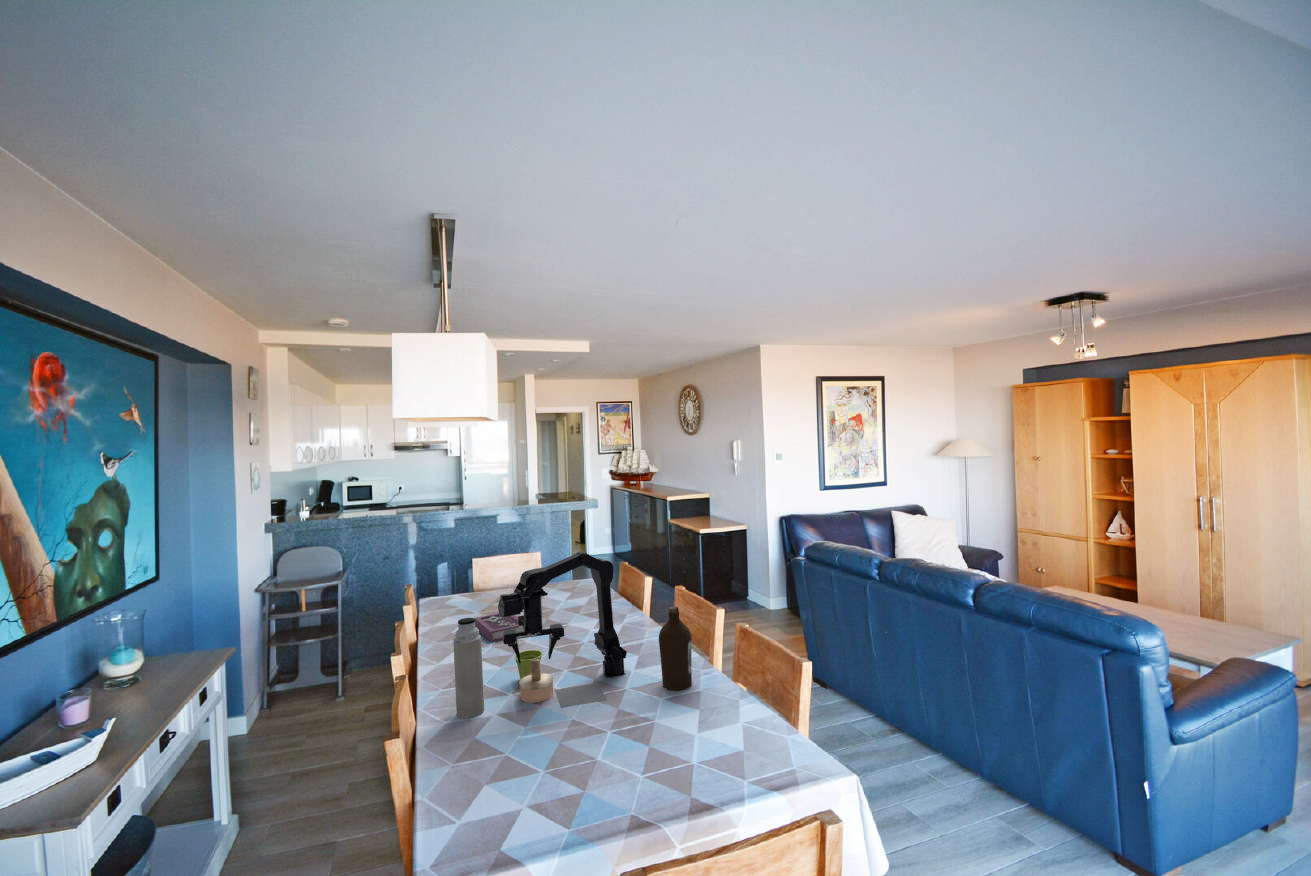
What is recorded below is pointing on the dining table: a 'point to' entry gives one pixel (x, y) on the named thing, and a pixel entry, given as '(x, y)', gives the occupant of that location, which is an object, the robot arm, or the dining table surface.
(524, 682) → the lid
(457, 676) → the thermos bottle
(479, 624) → the book
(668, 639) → the olive oil
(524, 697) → the bowl
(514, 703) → the dining table surface
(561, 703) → the mat
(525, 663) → the plant pot
